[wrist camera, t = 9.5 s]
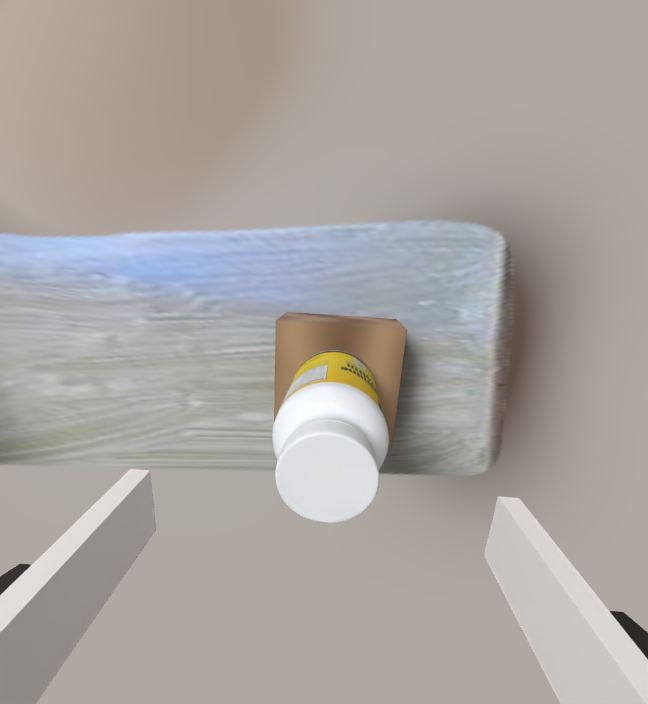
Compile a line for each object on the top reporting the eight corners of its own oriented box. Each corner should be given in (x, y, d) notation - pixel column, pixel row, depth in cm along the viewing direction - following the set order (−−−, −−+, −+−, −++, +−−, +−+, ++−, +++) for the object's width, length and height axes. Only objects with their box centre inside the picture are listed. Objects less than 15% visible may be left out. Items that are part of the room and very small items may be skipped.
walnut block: (284, 411, 31) (273, 436, 26) (287, 312, 29) (275, 320, 24) (384, 418, 31) (392, 446, 26) (395, 319, 28) (407, 329, 23)
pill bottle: (380, 416, 25) (410, 532, 14) (303, 428, 26) (273, 547, 15) (367, 340, 24) (390, 403, 13) (286, 354, 25) (239, 426, 13)
